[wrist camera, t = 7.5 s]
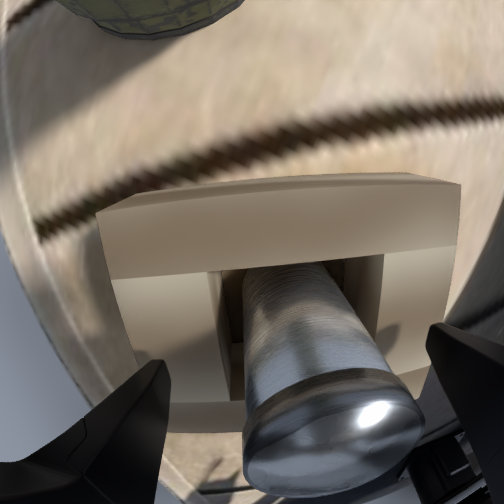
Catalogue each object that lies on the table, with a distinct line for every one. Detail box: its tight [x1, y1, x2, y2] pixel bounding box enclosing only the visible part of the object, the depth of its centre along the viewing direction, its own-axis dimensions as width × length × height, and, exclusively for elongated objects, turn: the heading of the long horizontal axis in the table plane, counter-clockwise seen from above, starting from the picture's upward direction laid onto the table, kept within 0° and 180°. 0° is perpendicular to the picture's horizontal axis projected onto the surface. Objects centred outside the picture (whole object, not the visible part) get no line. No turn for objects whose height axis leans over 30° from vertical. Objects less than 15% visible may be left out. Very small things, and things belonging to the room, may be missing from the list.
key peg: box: [242, 261, 425, 498], centre depth 9 cm, size 4×4×9 cm
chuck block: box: [96, 173, 461, 433], centre depth 12 cm, size 10×12×4 cm
